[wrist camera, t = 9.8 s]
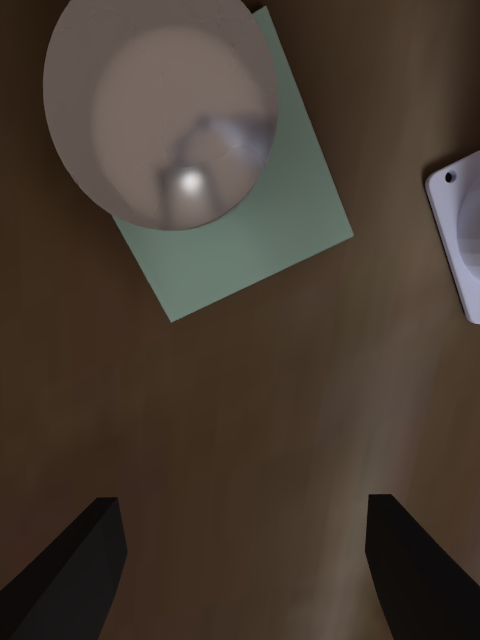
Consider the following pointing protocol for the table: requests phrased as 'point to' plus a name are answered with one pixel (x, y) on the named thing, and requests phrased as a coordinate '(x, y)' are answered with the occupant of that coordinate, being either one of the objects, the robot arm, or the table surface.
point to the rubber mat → (251, 215)
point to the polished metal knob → (161, 107)
